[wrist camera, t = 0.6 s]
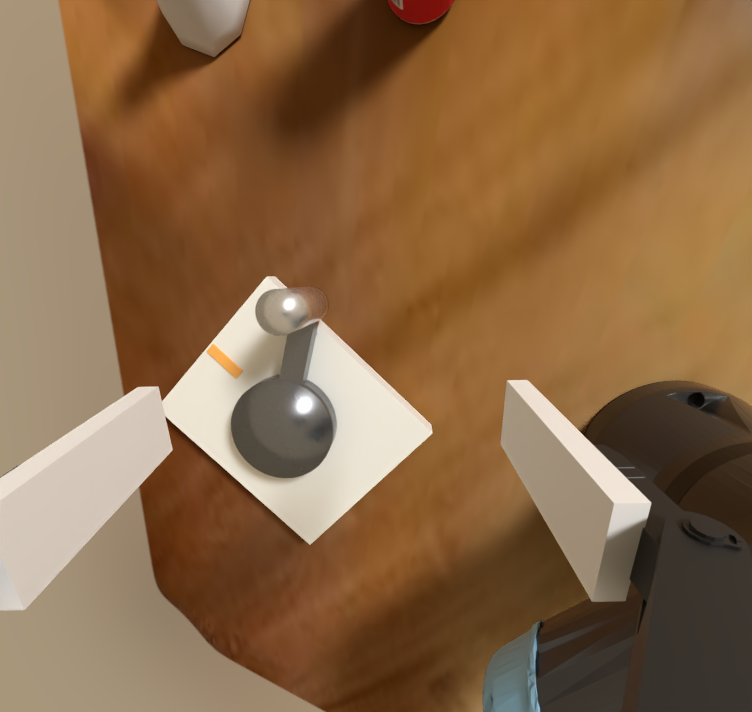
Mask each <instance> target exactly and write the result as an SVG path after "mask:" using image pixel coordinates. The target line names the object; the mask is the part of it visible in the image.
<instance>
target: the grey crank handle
mask: <svg viewBox="0 0 752 712" xmlns="http://www.w3.org/2000/svg"><path fill="white" fill-rule="evenodd" d="M328 308H329V302H328V299H327V296H326V295H325V293H324V292H323V291H322V290H320V289H318V288H316V287H298V288H283V289H272V290H269V291H266V292H265V293H263V294H262V295H261V296H260V298H259V299H258V301H257V303H256V307H255V315H256V319H257V321H258V323H259V325H260V326H261V328H262V329H263V330H264V331H266V332H267V333H269V334H271V335H275V336H284V335H287V339H286V345H285V350H284V355H283V361H282V366H281V371H280V375H275V376H271V377H268V378H266V379H264V380H262V381H260V382H259V383H257V384H256V385H254V386H253V387H251V388H250V389H248V390H247V391H246V392H245V393H244V394H243V395H242V396H241V397H240V398H239V400H238V401H237V403H236V405H235V407H234V410H233V413H232V417H231V432H232V437H233V440H234V443H235V445H236V447H237V449H238V451H239V453H240V454H241V455H242V457H243V458H244V459H245V460H246V461H247V462H248V463H249V464H250V465H251V466H252V467H254V468H255V469H257V470H258V471H260V472H262V473H264V474H267V475H270V476H273V477H278V478H295V477H299V476H303V475H305V474H307V473H309V472H311V471H313V470H314V469H315V468H317V467H318V466H319V465H320V464H321V463H322V462H323V460H324V459H325V457H326V456H327V454H328V452H329V450H330V448H331V446H332V444H333V441H334V439H335V435H336V430H337V420H336V414H335V410H334V408H333V405H332V403H331V401H330V400H329V398H328V397H327V395H326V394H325V393H324V392H323V391H322V390H321V389H320V388H319V387H318V386H317V385H315V384H314V383H312V382H311V381H309V380H307V377H308V372H309V368H310V363H311V358H312V353H313V348H314V343H315V338H316V333H317V328H318V324H319V321H320V320H321V319H323V318H324V317H325V315H326V314H327V312H328Z"/></svg>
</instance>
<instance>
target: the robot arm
mask: <svg viewBox="0 0 752 712" xmlns="http://www.w3.org/2000/svg"><path fill="white" fill-rule="evenodd" d="M501 446H502V448H503V450H504V451H505V453H506V455H507V456H508V458H509V460H510V462H511V463H512V465H513V467H514V468H515V470H516V472H517V474H518V475H519V477H520V479H521V480H522V482H523V484H524V486H525V487H526V489H527V491H528V493H529V494H530V496H531V498H532V499H533V501H534V503H535V505H536V506H537V508H538V510H539V511H540V513H541V515H542V517H543V518H544V520H545V522H546V523H547V525H548V527H549V529H550V530H551V532H552V534H553V536H554V537H555V539H556V541H557V542H558V544H559V546H560V548H561V549H562V551H563V553H564V554H565V556H566V558H567V560H568V561H569V563H570V565H571V566H572V568H573V570H574V572H575V573H576V575H577V577H578V579H579V580H580V582H581V584H582V585H583V587H584V589H585V591H586V592H587V594H588V596H589V597H590V598H589V599H587V600H585V601H583V602H581V603H579V604H577V605H575V606H573V607H571V608H569V609H567V610H565V611H563V612H561V613H559V614H557V615H556V616H554V617H552V618H550V619H548V620H546V621H545V620H541V621H538V622H536V623H534V624H533V625H532V627H531V629H530V630H529V631H527V632H525V633H524V634H522V635H520V636H519V637H517V638H515V639H514V640H512V641H510V642H509V643H507V644H505V645H504V646H502V647H501V648H499V649H498V650H497V651H496V652H495V653H494V654H493V656H492V657H491V659H490V661H489V663H488V666H487V669H486V673H485V677H484V684H483V712H752V406H750V405H749V404H747V403H746V402H744V401H743V400H741V399H739V398H737V397H735V396H733V395H731V394H728V393H726V392H723V391H720V390H717V389H715V388H712V387H709V386H706V385H703V384H699V383H694V382H688V381H664V382H657V383H652V384H648V385H644V386H641V387H638V388H636V389H633V390H631V391H629V392H627V393H625V394H623V395H621V396H620V397H618V398H617V399H615V400H614V401H612V402H611V403H610V404H608V405H607V406H606V407H605V408H604V409H603V410H602V411H601V412H600V413H599V414H598V415H597V416H596V417H595V418H594V420H593V421H592V422H591V424H590V425H589V427H588V428H587V430H586V432H585V434H584V435H583V434H582V433H581V432H579V431H578V430H577V429H576V428H575V427H574V426H573V425H572V424H571V423H570V422H569V421H568V420H567V419H566V418H565V417H564V416H563V415H562V414H561V413H560V412H559V411H558V410H557V409H556V408H555V407H554V406H553V405H552V404H551V403H550V402H549V401H548V400H547V399H546V398H545V397H544V396H543V395H542V394H541V393H540V392H539V391H538V390H537V389H536V388H535V387H534V386H533V385H532V384H531V383H530V382H529V381H528V380H507V384H506V394H505V404H504V414H503V424H502V434H501ZM172 450H173V449H172V445H171V440H170V436H169V431H168V427H167V423H166V418H165V414H164V409H163V405H162V400H161V396H160V391H159V387H137V388H136V389H134V390H133V391H131V392H130V393H128V394H127V395H125V396H124V397H122V398H121V399H119V400H118V401H116V402H115V403H113V404H112V405H110V406H109V407H107V408H106V409H104V410H103V411H101V412H100V413H98V414H97V415H95V416H94V417H92V418H90V419H89V420H88V421H86V422H84V423H83V424H81V425H80V426H78V427H77V428H75V429H74V430H72V431H71V432H69V433H68V434H66V435H65V436H64V437H62V438H60V439H59V440H57V441H56V442H54V443H53V444H51V445H50V446H48V447H47V448H45V449H44V450H42V451H40V452H39V453H38V454H36V455H34V456H33V457H31V458H30V459H28V460H27V461H25V462H24V463H22V464H20V465H18V466H16V467H15V468H13V469H12V470H10V471H9V472H7V473H6V474H4V475H3V476H1V477H0V610H25V609H26V608H27V607H28V606H29V605H30V604H31V603H32V601H33V600H34V599H35V598H36V597H37V596H38V595H39V594H40V593H41V592H42V591H43V589H44V588H45V587H46V586H47V585H48V584H49V583H50V582H51V581H52V580H53V579H54V578H55V577H56V575H57V574H58V573H59V572H60V571H61V570H62V569H63V568H64V567H65V566H66V565H67V564H68V563H69V561H70V560H71V559H72V558H73V557H74V556H75V555H76V554H77V553H78V552H79V551H80V550H81V548H82V547H83V546H84V545H85V544H86V543H87V542H88V541H89V540H90V539H91V538H92V537H93V535H94V534H95V533H96V532H97V531H98V530H99V529H100V528H101V527H102V526H103V525H104V524H105V523H106V521H107V520H108V519H109V518H110V517H111V516H112V515H113V514H114V513H115V512H116V510H118V508H119V507H120V506H121V505H122V504H123V503H124V502H125V501H126V500H127V499H128V498H129V497H130V495H131V494H132V493H133V492H134V491H135V490H136V489H137V488H138V487H139V486H140V485H141V484H142V483H143V481H144V480H145V479H146V478H147V477H148V476H149V475H150V474H151V473H152V472H153V471H154V470H155V468H156V467H157V466H158V465H159V464H160V463H161V462H162V461H163V460H164V459H165V458H166V457H167V455H168V454H169V453H170V452H171V451H172Z"/></svg>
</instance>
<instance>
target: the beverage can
mask: <svg viewBox="0 0 752 712" xmlns="http://www.w3.org/2000/svg"><path fill="white" fill-rule="evenodd" d="M387 1H388V3H389V6H390V8H391V9H392V10H393V12H394V13H395V14H396V15H397V16H398V17H399V18H400V19H402V20H404V21H406V22H408V23H412V24H425V23H429V22H431V21H434V20H436V19H438V18H439V17H441V16H442V15H443V14H444V13H445V12H446V11H447V10H448V9H449V8H450V7H451V5H452V4H453V2H454V1H455V0H387Z"/></svg>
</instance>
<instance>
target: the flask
mask: <svg viewBox="0 0 752 712" xmlns="http://www.w3.org/2000/svg"><path fill="white" fill-rule="evenodd" d="M249 1H250V0H157V3H158V5H159V7H160V10H161V12H162V14H163V15H164V17H165V18H166V20H167V22H168V23H169V25H170V26H171V28H172V29H173V31H174V33H175V34H176V36H177V37H178V39H179V41H180V42H181V44H182V45H184V46H186V47H189V48H191V49H194V50H197V51H199V52H202V53H204V54H207V55H210V56H212V57H215V56H216V55H217V54H219V53H220V52H221V51H222V50H223V49H224V48H226V47H227V46H228V45H229V44H230V43H231V42H233V41H234V40H235V39H236V38H237V37H238V36H240V35H241V33H242V29H243V25H244V21H245V17H246V13H247V9H248V5H249Z"/></svg>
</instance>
